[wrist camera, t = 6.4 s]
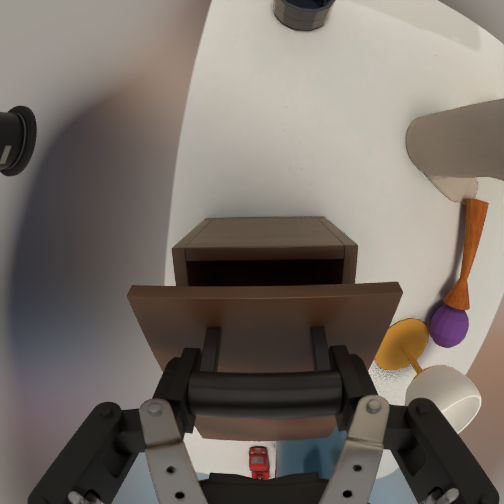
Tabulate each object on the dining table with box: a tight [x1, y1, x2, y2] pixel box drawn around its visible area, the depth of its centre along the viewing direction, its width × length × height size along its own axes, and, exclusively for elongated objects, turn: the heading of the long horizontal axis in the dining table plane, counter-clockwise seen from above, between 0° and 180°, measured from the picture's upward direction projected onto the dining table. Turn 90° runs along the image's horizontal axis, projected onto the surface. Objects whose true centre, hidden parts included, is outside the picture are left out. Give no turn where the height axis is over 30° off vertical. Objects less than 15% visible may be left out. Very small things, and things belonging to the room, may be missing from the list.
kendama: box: [430, 198, 489, 348], centre depth 29 cm, size 6×6×20 cm
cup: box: [375, 319, 481, 434], centre depth 27 cm, size 9×9×16 cm
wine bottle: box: [275, 425, 347, 479], centre depth 26 cm, size 14×13×30 cm
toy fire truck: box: [249, 448, 270, 480], centre depth 39 cm, size 3×14×10 cm, turn 6°
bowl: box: [274, 0, 336, 30], centre depth 21 cm, size 6×6×5 cm
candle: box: [406, 99, 504, 206], centre depth 18 cm, size 7×14×20 cm, turn 56°
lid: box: [127, 282, 403, 441], centre depth 16 cm, size 21×13×5 cm, turn 1°
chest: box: [172, 217, 358, 287], centre depth 28 cm, size 20×13×12 cm, turn 2°
